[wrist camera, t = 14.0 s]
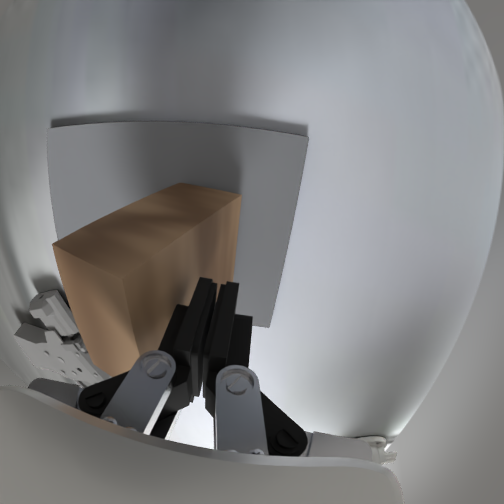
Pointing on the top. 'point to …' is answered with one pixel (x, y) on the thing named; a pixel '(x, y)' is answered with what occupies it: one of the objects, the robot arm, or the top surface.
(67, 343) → the pistol
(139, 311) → the wooden block
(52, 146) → the rubber mat
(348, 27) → the top surface
